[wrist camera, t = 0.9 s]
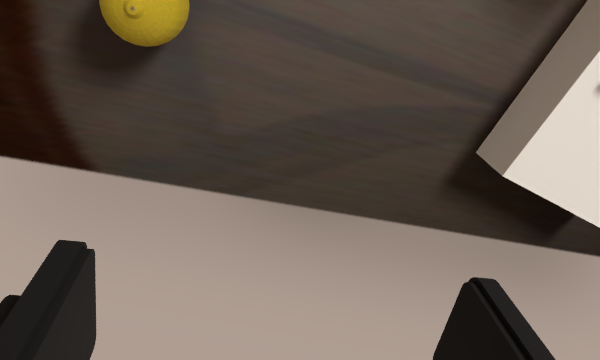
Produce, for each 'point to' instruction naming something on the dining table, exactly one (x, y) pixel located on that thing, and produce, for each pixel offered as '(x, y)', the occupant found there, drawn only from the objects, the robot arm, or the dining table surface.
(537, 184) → the socket
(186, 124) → the dining table surface
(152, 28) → the lemon
